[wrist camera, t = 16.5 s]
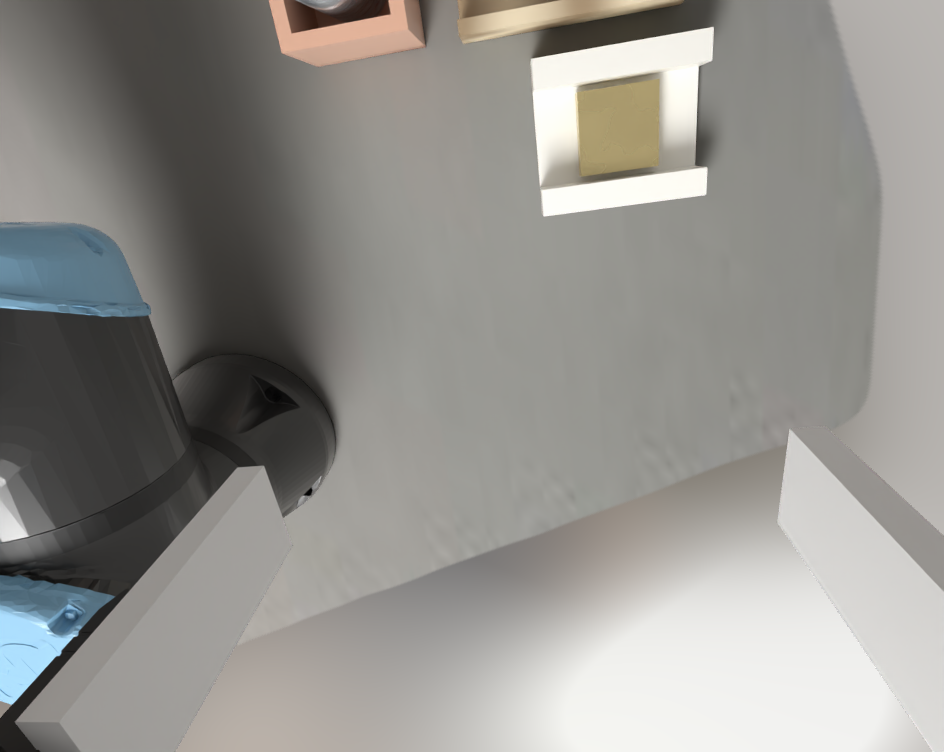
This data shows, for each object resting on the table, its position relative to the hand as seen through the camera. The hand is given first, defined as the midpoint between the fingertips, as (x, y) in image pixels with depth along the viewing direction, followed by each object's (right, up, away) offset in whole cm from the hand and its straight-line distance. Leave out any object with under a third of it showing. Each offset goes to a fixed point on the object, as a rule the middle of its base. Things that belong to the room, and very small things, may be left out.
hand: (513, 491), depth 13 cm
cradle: (+8, +19, +20) cm, 29 cm away
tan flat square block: (+8, +19, +19) cm, 28 cm away
